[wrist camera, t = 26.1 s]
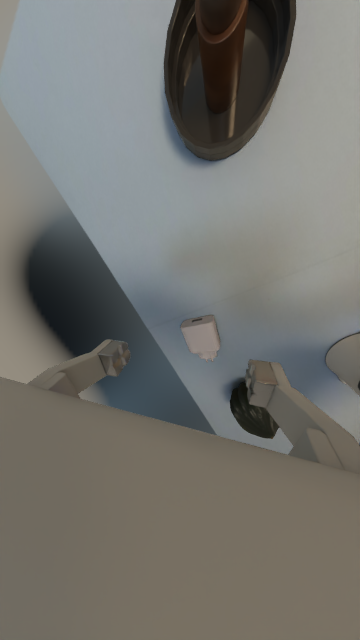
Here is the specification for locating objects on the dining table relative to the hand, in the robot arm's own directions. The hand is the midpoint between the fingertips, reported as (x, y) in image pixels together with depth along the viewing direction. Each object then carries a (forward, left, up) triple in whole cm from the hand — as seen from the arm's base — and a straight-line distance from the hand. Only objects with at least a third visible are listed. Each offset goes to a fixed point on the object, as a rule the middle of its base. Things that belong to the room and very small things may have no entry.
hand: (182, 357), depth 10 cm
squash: (-16, +40, -31) cm, 53 cm away
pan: (0, -28, -31) cm, 42 cm away
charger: (+1, +20, -31) cm, 37 cm away
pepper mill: (0, -28, -31) cm, 41 cm away
